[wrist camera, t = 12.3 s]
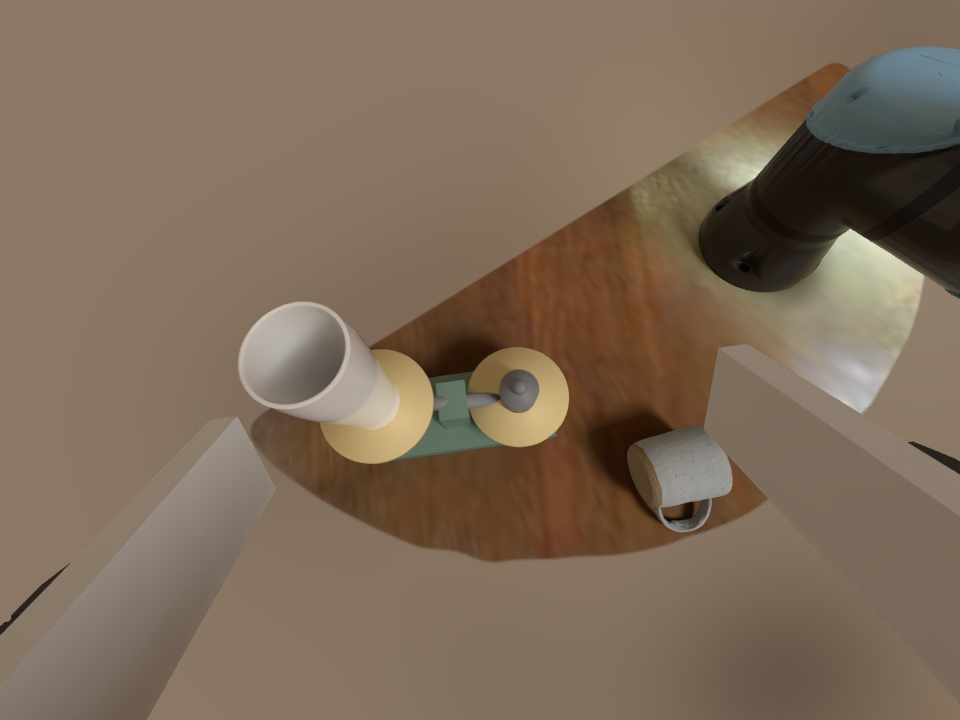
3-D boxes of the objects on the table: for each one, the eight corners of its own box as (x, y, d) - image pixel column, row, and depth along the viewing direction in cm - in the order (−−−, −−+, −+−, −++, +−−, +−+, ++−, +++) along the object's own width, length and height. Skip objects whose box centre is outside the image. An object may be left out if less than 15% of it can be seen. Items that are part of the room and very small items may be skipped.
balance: (549, 359, 49) (565, 322, 38) (566, 444, 46) (590, 432, 34) (360, 386, 49) (318, 357, 38) (363, 473, 46) (318, 471, 34)
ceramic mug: (615, 446, 45) (638, 441, 38) (679, 428, 46) (714, 419, 38) (650, 538, 42) (682, 552, 35) (718, 518, 43) (764, 528, 35)
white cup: (363, 357, 37) (280, 282, 23) (422, 387, 36) (373, 326, 22) (325, 418, 36) (210, 377, 21) (386, 451, 34) (307, 432, 20)
